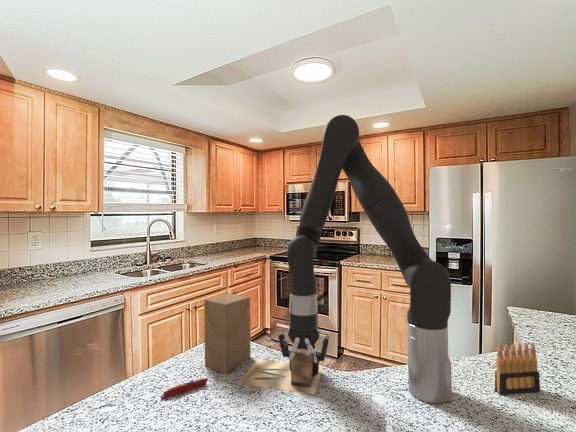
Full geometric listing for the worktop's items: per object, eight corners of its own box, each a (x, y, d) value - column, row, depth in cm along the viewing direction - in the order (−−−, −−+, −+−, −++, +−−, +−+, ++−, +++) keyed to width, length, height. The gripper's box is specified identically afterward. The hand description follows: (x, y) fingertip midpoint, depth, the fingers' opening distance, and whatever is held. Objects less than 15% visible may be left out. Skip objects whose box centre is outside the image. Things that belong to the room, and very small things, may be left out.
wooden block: (226, 375, 84) (225, 304, 84) (204, 365, 90) (203, 299, 90) (251, 361, 92) (250, 296, 92) (229, 353, 98) (228, 292, 98)
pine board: (323, 371, 85) (323, 366, 85) (314, 400, 72) (314, 394, 72) (257, 363, 90) (257, 358, 90) (238, 389, 77) (238, 383, 77)
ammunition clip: (500, 394, 73) (499, 345, 73) (494, 390, 75) (493, 342, 75) (540, 392, 74) (539, 343, 74) (533, 388, 76) (532, 340, 76)
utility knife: (207, 383, 80) (207, 376, 80) (208, 385, 79) (208, 377, 79) (160, 398, 74) (160, 390, 74) (161, 400, 73) (161, 392, 73)
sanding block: (316, 370, 83) (316, 348, 83) (310, 387, 74) (310, 363, 74) (299, 368, 84) (298, 346, 84) (291, 385, 76) (290, 361, 76)
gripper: (331, 307, 81) (332, 370, 81) (281, 304, 85) (282, 364, 85) (328, 316, 74) (329, 385, 74) (273, 312, 78) (274, 377, 78)
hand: (304, 373), depth 79 cm, fingers closed on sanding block, 5 cm apart
